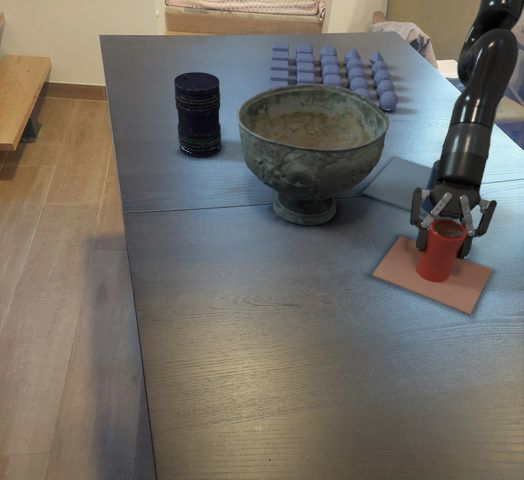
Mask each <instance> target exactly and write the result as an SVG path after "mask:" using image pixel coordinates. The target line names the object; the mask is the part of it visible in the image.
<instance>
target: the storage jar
mask: <svg viewBox="0 0 524 480" xmlns="http://www.w3.org/2000/svg"><path fill="white" fill-rule="evenodd" d="M173 85H174V100H175V104H174V105H175V108H176V110H177V119H178V120H177V121H178V123H177V138H178V142H179V151H180V152H181V154H183V156H187V157H189V158H194V159H206V158H212V157H214V156H216V155H217V154H219V153H220V152H221V150H222V146H221V139H222V128H221V123H220V109H221V92H220V89H221V88H220V79H219V78H218V77H217V76H216V75H214V74H211V73H208V72H203V71H191V72H184V73H182V74H179V75H177V76H176V77H175V78H174V80H173ZM180 145H181V146H180ZM181 147H183V148H184V149H185V150H187V151H189V152H187V151H185V150H183V149H182V148H181ZM218 147H219V148H218ZM190 152H191V153H190Z"/></svg>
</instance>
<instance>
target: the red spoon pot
mask: <svg viewBox="0 0 524 480" xmlns="http://www.w3.org/2000/svg"><path fill="white" fill-rule="evenodd" d="M466 236H467V231H466V229H465V228H464V227H463V226H462V225H461V224H460V222H457V221H455V220H453V219H451V220H447V219H439V220H436V219H434V220H433V221H432V222H431V223H430V225H429V226H428V236H427V240H426V244H425V248H424V251H423V252H421V253H420V256H419V259H418V262H417V264H416V272H417V273H418V275H419V276H420V277H422V278H423V279H425V280H428V281H431V282H443V281H446V280H447V279H448V278H449V277H450V274H451V272H452V270H453V267H454V265H455V262H456V260H457V258H458V255H459V253H460V250H461V248H462V246H463V243H464V241H465V238H466Z"/></svg>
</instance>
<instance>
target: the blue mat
mask: <svg viewBox="0 0 524 480" xmlns="http://www.w3.org/2000/svg"><path fill="white" fill-rule="evenodd" d="M431 171H432V167H430V166H426V165H423V164H420V163H416V162H413V161H410V160H407V159H404V158H401V157H398V156H395V157H393V159H392V160H391V161H390V162H389V163H388V165H386V167H385V168H384V169H383V170H382V171H381V172H380V173H379V174H378V175H377V176H376V177H375V179H374V180H372V182H371V183H370V184H369V185H368V186H367V187H366V188H365V190H364V191H363V192H362V195H364V196H367V197H369V198H372V199H376V200H377V201H380V202H384V203H387V204H389V205H393V206H396V207H399V208H402V209H404V210H407V211H410V212H411V206H412V196H413V192H414V190H415V189H416V188H417V187H420V188H421V189H426V186H427V183H428V180H429V177H430V174H431ZM419 215H422V216H425V217H427V216H428V215H429V212H427V211H425V210H424V209H423V208H422V206H421V205H420V214H419ZM439 219H447V220H452V218H450V217H439V215H437V216H436V217H435V219H434V220H439Z"/></svg>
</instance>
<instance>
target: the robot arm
mask: <svg viewBox="0 0 524 480" xmlns="http://www.w3.org/2000/svg"><path fill="white" fill-rule="evenodd" d="M523 12H524V0H480V3H479V7H478V11H477V14H476V16H475V18H474V21H473V23H472V25H471V27H470V28H469V31H468V33H467V35H466V37H465V40H464V42H463V44H462V47H461V50H460V52H459V55H458V59H457V66H456V73H457V77H458V81H459V82H460V83H461V85H462V86H463V87H464V89H463V91H462V92H461V93H460V94H459V96H457V98H456V100H455V102H454V105H453V108H452V112H451V116H450V121H449V126H448V129H447V132H446V135H445V138H444V140H443V144H442V147H441V153H440V157H439V160H440V161H439V165H438V169H437V174H436V178H435V182H434V186H433V187H432V188H431V190H426V189H421V188H420V187H417V188H416V189H415V190H414V192H413V196H412V206H411V211H410V214H409V215H410V216H409V224H410V225H411V226H414V227H416V228H417V229H418V233H417V238H416V240H415V241H416V248H419V250H418V252H423V251H424V248H425V244H426V240H427V236H428V230H429V227H430V224H431V223H432V222H433V221H435V220H436V219H435V217H436V216H437V215H439V217H450V218H451V220H456V221H459V222H458V223H459V224H461V225H462V226H463V227H464V228H465V229H466V231H467V236H466V238H465V241H464V243H463V246H462V248H461V250H460V253H459V255H458V259H460V260H463V259H465V258H467V257H468V256H469V255H470V253H471V249H472V245H473V241H474V238H481V237H483V236H484V235H485V234H487V232H488V230H489V226H490V223H491V221H492V219H493V216H494V213H495V211H496V208H497V205H498V201H497V200H496V199H492V200H488V199H484V198H481V192H480V191H481V186H482V182H483V178H484V174H485V170H486V165H487V163H488V162H487V161H488V159H489V156H490V149H491V142H492V133H493V129H494V126H495V121H496V117H497V112H498V111H497V110H498V108H499V105H500V104H501V103H500V102H501V101H502V98H503V97H504V95H505V93H506V90H507V88H508V85H510V81H511V79H512V76H513V75H514V72H515V69H516V66H517V63H518V60H519V59H518V58H519V41H518V39H517V35H515V33H514V32H513V31H512V30H513V29H514V28H515V27H516V26H517V24H519V23H518V22H519V21H520V20H521V18H522V15H523ZM428 196H429V198H430V201H431V203H432V205H433V207H434V209H433V210H432V211H431V212H430V213H429V215H428V216H425V218H424V219H423V218H422V217H421V218H420V215H421V214H420V205H421V203H422V202H424V200H425V198H426V197H428ZM477 206H479V212H480V214H481V217H480V220H479V222H478V225H477V227H476V228H475V227H474V223H473V220H474V219H473V215H472V212H471V211H473V209H475V208H476V207H477Z"/></svg>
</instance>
